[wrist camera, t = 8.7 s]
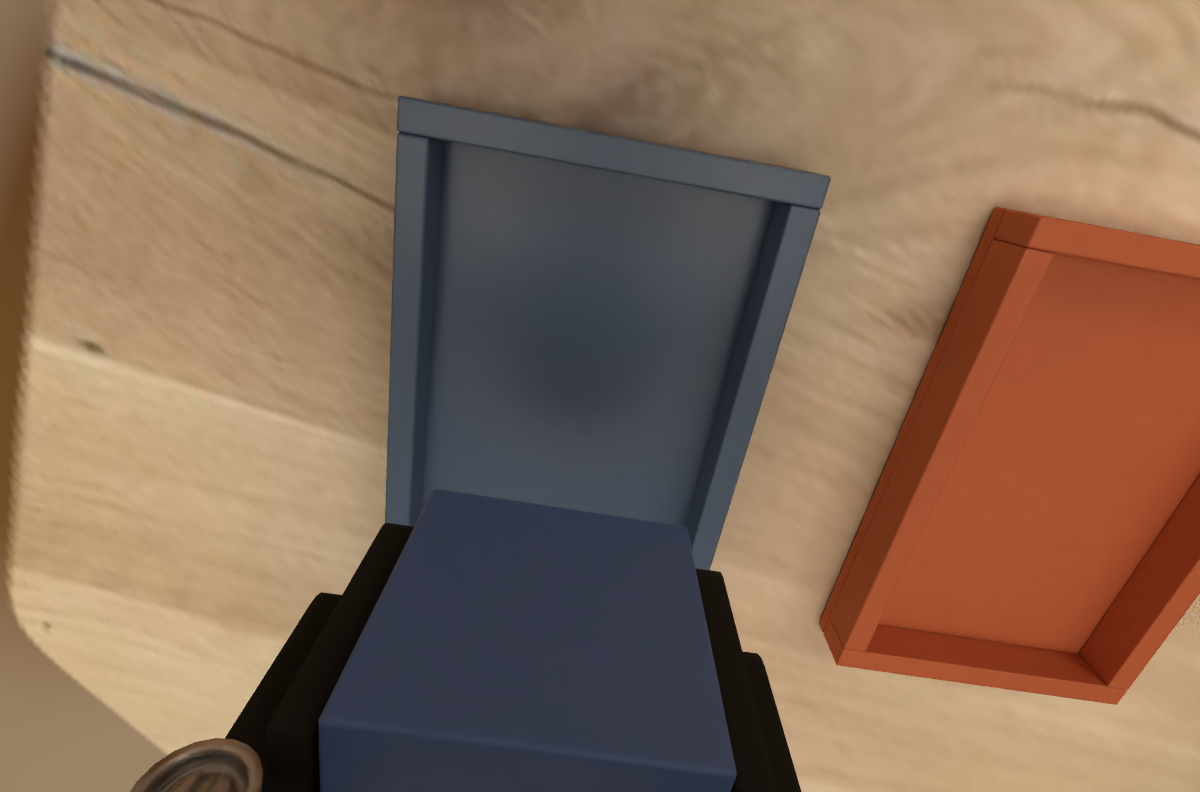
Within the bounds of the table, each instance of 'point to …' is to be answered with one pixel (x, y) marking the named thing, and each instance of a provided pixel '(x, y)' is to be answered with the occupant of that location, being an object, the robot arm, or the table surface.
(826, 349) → the table surface
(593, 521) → the blue block
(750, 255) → the blue tray
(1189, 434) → the terracotta tray
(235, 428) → the table surface
